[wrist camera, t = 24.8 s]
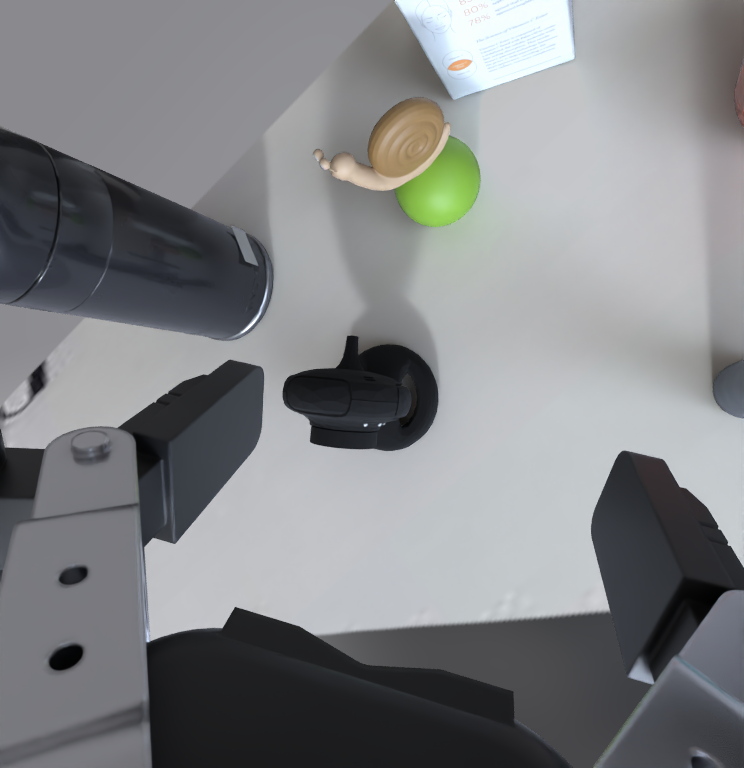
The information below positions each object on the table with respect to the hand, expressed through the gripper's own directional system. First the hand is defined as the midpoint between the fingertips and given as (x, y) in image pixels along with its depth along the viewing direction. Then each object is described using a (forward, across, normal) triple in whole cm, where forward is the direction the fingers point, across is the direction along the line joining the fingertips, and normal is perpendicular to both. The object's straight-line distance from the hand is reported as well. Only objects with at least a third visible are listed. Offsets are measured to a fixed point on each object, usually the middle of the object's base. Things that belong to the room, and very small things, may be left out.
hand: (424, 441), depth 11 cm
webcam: (+22, +3, +10) cm, 25 cm away
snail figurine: (+27, +2, -3) cm, 27 cm away
